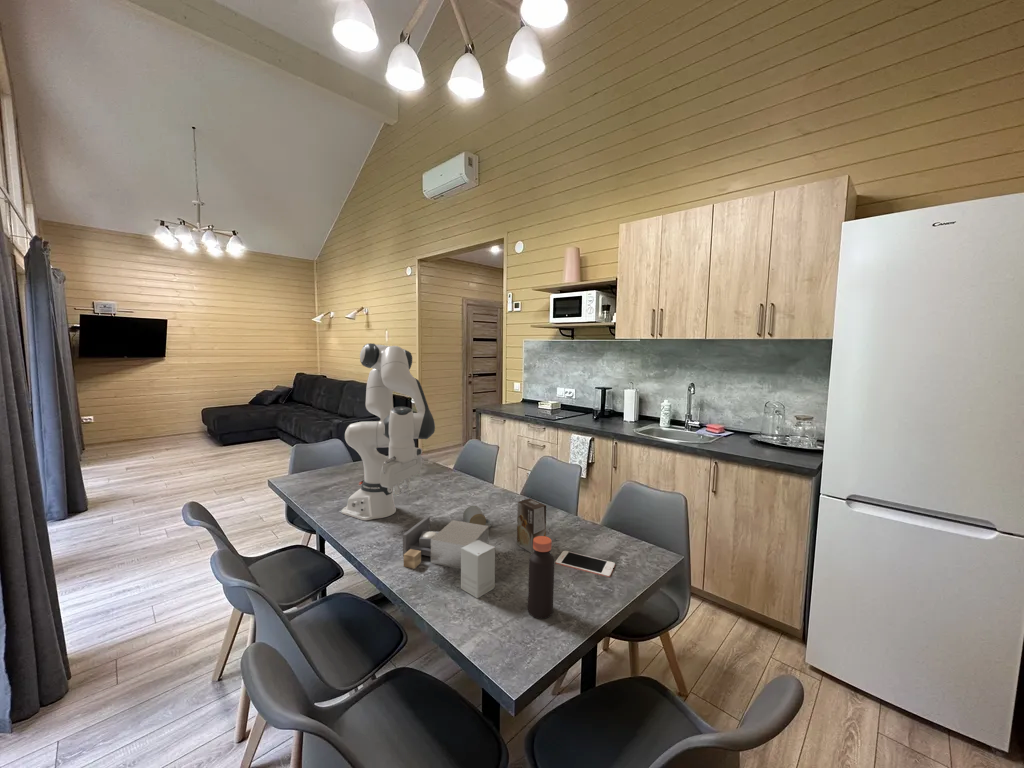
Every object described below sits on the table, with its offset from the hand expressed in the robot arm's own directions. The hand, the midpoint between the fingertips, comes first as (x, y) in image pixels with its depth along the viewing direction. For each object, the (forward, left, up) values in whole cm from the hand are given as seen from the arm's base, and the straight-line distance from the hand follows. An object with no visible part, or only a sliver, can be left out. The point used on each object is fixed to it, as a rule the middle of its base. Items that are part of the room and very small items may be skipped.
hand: (401, 492), depth 146 cm
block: (+11, -11, -19) cm, 25 cm away
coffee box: (+44, +14, -19) cm, 50 cm away
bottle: (+56, -20, -19) cm, 62 cm away
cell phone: (+64, +9, -20) cm, 68 cm away
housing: (+23, 0, -19) cm, 30 cm away
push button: (+11, 0, -17) cm, 20 cm away
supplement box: (+36, -16, -19) cm, 44 cm away
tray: (+12, 0, -19) cm, 22 cm away
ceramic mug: (+20, +23, -19) cm, 36 cm away
